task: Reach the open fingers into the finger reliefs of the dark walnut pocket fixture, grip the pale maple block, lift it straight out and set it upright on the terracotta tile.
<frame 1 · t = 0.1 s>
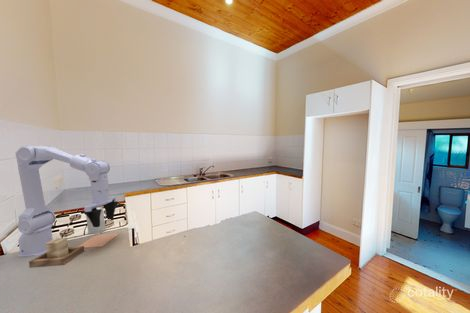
hand: (103, 222, 75), 10 cm above the countertop, fingers open, 7 cm apart
skincare box: (97, 232, 91), on the countertop
walnut pocket: (58, 259, 68), on the countertop
maple block: (58, 258, 68), resting on walnut pocket
terracotta tile: (98, 242, 80), on the countertop
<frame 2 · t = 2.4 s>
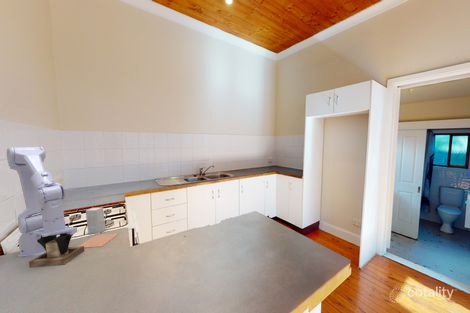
hand: (58, 253, 68), 2 cm above the countertop, fingers closed on maple block, 4 cm apart
maple block: (58, 258, 68), resting on walnut pocket, touching gripper
everything else where it was.
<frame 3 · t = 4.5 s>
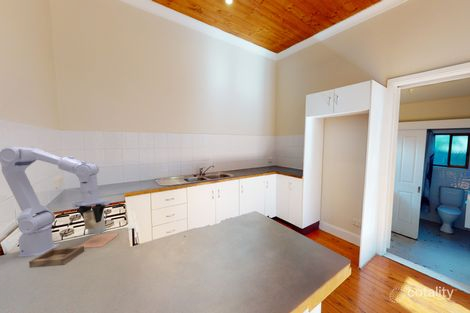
hand: (93, 222, 79), 9 cm above the countertop, fingers closed on maple block, 4 cm apart
maple block: (93, 226, 78), point 7 cm above the countertop, touching gripper
everything else where it was.
when the fingers open (4 cm above the countertop, at t = 6.4 s): maple block drops 1 cm, resting on terracotta tile.
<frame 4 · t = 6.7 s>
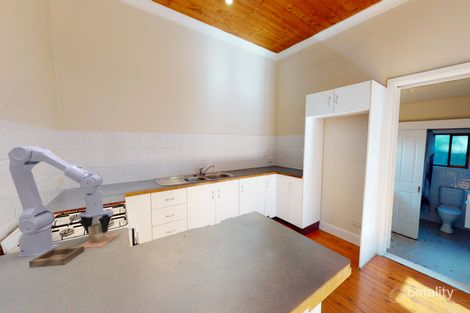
hand: (97, 232, 80), 4 cm above the countertop, fingers open, 6 cm apart
maple block: (98, 240, 80), point 1 cm above the countertop, touching terracotta tile
everything else where it was.
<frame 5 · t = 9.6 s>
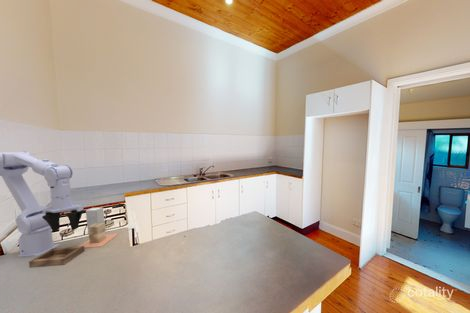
hand: (65, 229, 73), 9 cm above the countertop, fingers open, 7 cm apart
nothing on the countertop moved.
at the end: maple block inside the target area on the terracotta tile (0.2 cm from its centre), point 0.8 cm above the terracotta tile's base; maple block tilted 0°; the gripper is holding nothing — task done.
